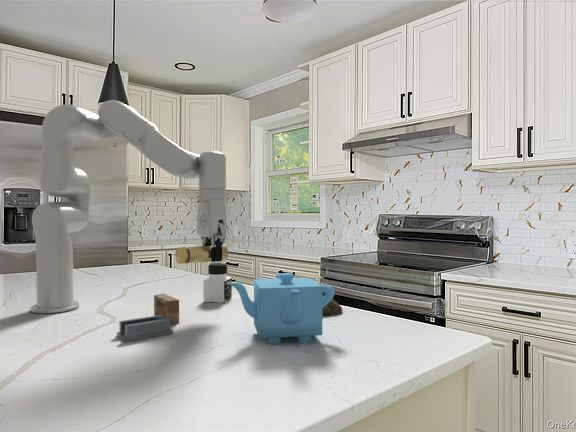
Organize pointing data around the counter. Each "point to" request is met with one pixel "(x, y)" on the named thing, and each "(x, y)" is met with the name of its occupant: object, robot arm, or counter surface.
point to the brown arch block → (167, 307)
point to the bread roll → (331, 308)
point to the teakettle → (286, 307)
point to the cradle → (143, 328)
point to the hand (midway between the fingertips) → (212, 259)
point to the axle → (197, 254)
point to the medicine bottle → (217, 284)
